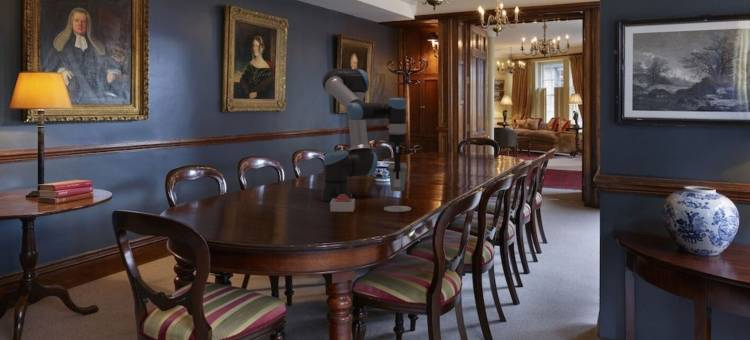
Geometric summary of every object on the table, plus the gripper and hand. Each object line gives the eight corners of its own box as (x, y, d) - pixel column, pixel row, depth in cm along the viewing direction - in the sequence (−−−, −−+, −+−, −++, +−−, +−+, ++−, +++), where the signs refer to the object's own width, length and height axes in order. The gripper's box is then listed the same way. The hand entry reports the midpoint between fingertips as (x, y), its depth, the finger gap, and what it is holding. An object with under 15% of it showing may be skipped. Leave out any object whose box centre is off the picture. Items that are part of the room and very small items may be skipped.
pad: (378, 209, 252) (378, 207, 252) (398, 205, 259) (398, 204, 259) (396, 212, 243) (396, 211, 243) (416, 209, 250) (416, 208, 250)
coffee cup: (409, 189, 253) (409, 162, 251) (404, 192, 245) (404, 164, 243) (391, 188, 255) (391, 162, 254) (385, 191, 247) (385, 163, 246)
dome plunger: (333, 207, 248) (333, 196, 247) (335, 204, 255) (335, 193, 254) (350, 207, 247) (350, 196, 247) (352, 204, 255) (352, 193, 254)
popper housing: (330, 211, 247) (330, 202, 246) (332, 207, 257) (332, 198, 256) (353, 211, 246) (353, 202, 246) (355, 207, 256) (354, 198, 256)
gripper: (389, 132, 258) (389, 181, 260) (388, 134, 237) (388, 188, 239) (405, 132, 258) (405, 181, 260) (406, 134, 236) (406, 188, 239)
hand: (397, 185), depth 250 cm, fingers closed on coffee cup, 8 cm apart
